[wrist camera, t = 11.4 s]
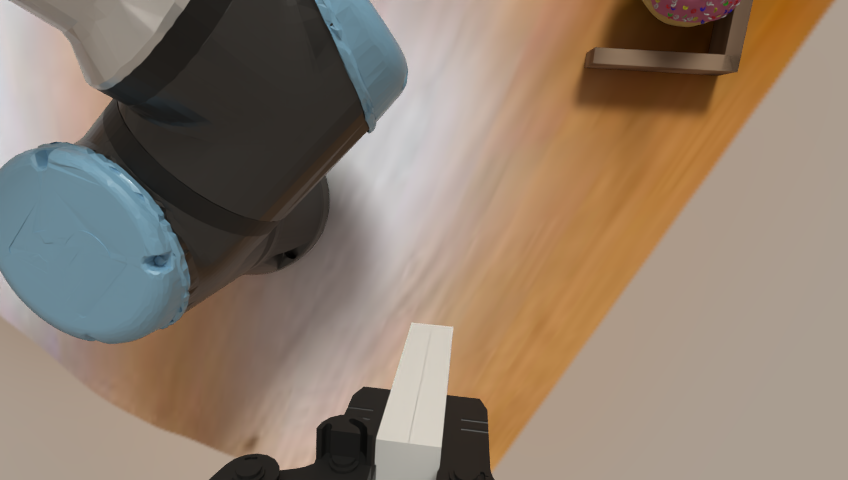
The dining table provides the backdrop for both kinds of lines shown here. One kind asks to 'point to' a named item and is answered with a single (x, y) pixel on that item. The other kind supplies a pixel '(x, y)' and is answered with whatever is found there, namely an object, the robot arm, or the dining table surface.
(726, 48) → the bay
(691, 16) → the cupcake
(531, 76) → the dining table surface
